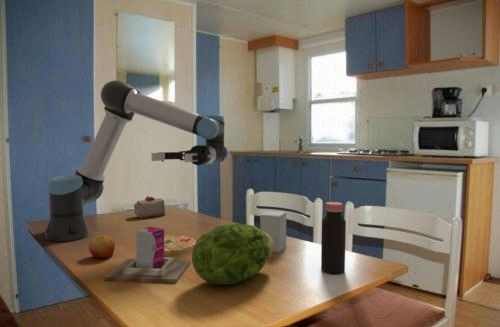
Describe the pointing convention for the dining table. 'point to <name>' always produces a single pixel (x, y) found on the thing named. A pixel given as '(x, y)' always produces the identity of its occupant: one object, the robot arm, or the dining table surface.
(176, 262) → the socket board
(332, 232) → the bottle
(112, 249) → the fruit
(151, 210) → the food item
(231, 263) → the lettuce
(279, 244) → the supplement box
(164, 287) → the dining table surface
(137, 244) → the supplement box
